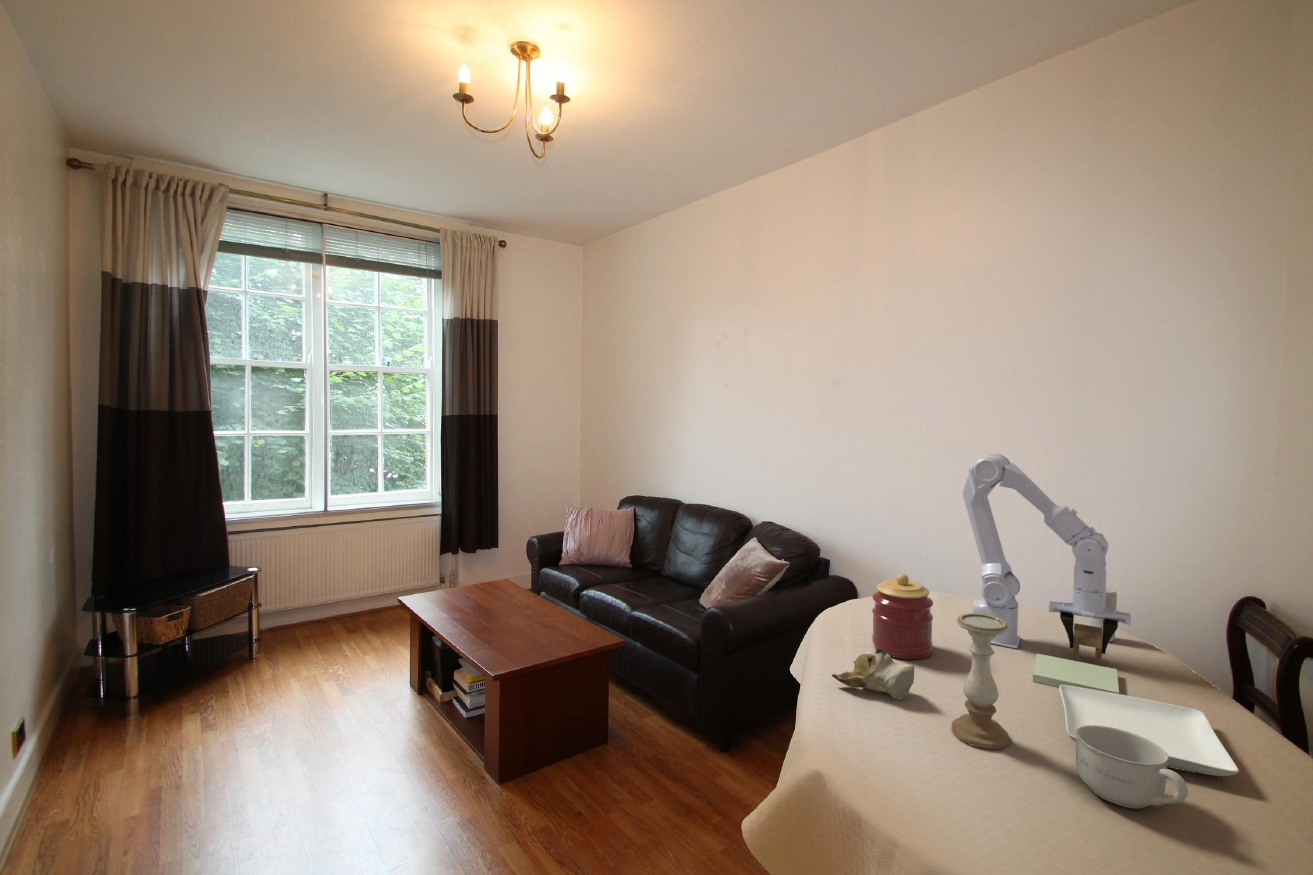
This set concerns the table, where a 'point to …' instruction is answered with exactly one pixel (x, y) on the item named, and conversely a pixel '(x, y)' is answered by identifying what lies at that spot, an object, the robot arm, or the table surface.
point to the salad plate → (1151, 727)
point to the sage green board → (1074, 674)
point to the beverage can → (1109, 604)
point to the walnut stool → (1087, 640)
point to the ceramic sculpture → (879, 674)
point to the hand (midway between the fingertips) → (1087, 649)
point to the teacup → (1125, 767)
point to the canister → (902, 618)
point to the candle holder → (981, 685)
